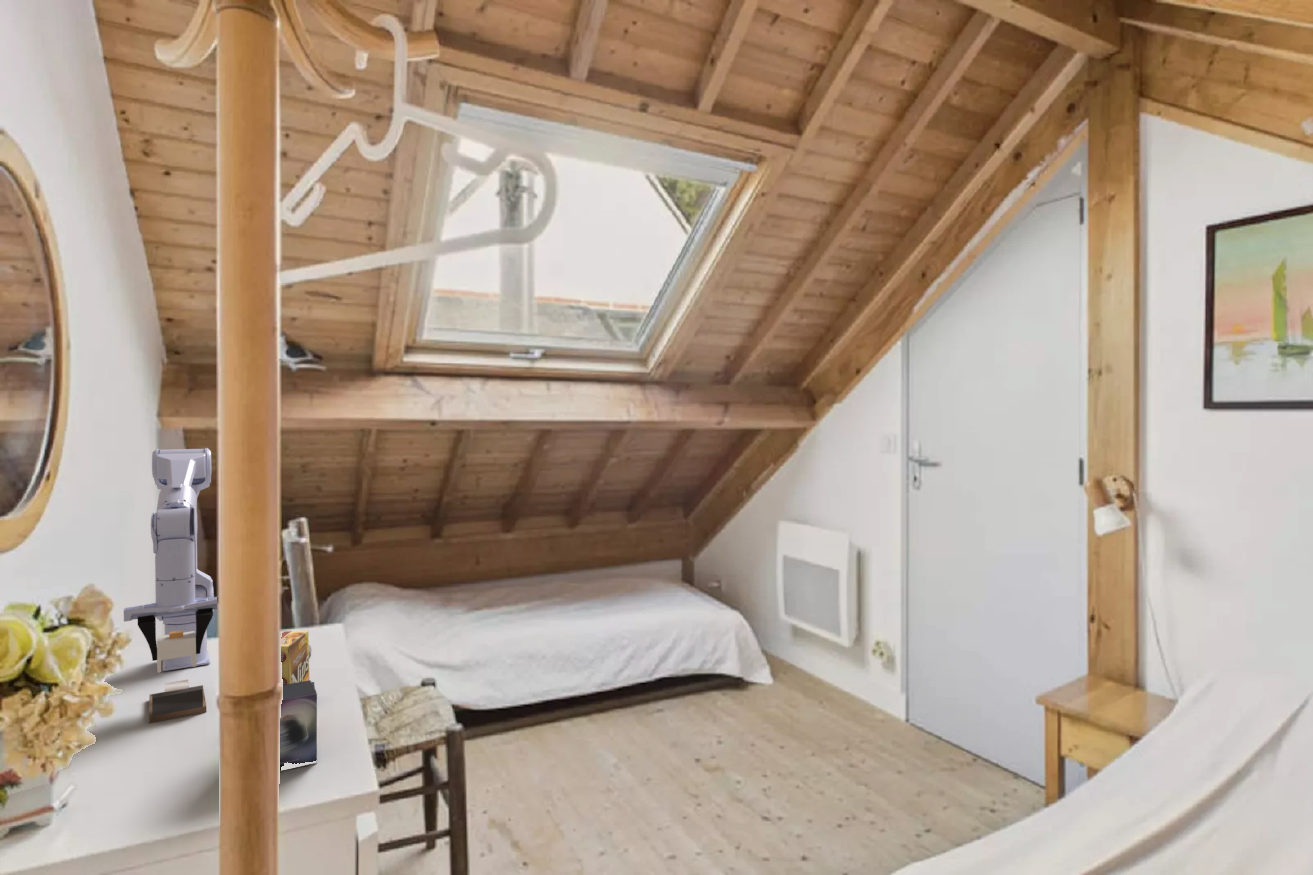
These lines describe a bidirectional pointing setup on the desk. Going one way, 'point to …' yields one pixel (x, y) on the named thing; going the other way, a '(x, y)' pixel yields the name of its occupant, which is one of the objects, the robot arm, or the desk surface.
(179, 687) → the board
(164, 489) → the robot arm
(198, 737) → the desk surface
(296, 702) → the small box
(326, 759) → the desk surface
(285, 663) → the candy box
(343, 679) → the desk surface
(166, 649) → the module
